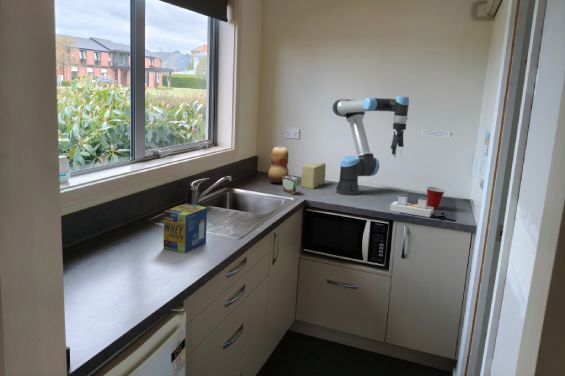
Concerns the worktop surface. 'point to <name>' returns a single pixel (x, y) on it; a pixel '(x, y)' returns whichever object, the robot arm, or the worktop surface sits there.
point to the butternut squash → (278, 164)
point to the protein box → (185, 227)
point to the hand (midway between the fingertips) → (395, 158)
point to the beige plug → (422, 202)
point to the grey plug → (402, 199)
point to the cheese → (313, 175)
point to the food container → (289, 184)
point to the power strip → (413, 209)
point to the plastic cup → (434, 196)
